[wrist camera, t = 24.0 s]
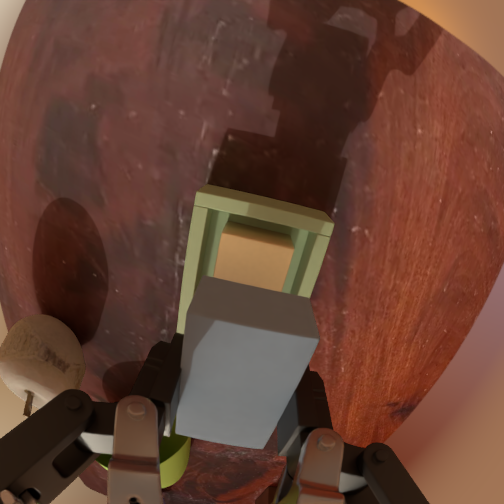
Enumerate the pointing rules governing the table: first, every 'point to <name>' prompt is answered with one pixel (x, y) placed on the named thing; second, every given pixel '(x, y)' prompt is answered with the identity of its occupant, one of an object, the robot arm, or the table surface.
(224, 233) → the birch pad
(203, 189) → the olive green tray
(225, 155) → the table surface
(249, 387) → the rubber pad
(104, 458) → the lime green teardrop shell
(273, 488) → the stand
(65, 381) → the decorative object
